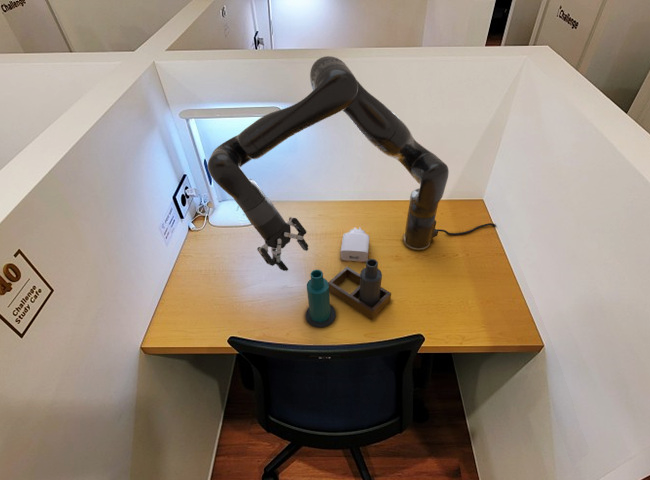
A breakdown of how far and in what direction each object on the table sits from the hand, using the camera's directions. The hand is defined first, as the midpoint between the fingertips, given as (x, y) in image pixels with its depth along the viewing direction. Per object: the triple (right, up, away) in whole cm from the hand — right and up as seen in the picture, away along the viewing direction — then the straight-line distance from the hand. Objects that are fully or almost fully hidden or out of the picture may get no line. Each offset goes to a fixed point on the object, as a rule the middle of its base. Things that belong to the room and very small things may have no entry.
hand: (296, 259), depth 106 cm
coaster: (+7, -17, +3) cm, 18 cm away
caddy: (+18, -11, +8) cm, 23 cm away
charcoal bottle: (+22, -13, +6) cm, 26 cm away
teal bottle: (+7, -16, +3) cm, 18 cm away
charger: (+18, +5, +24) cm, 31 cm away
